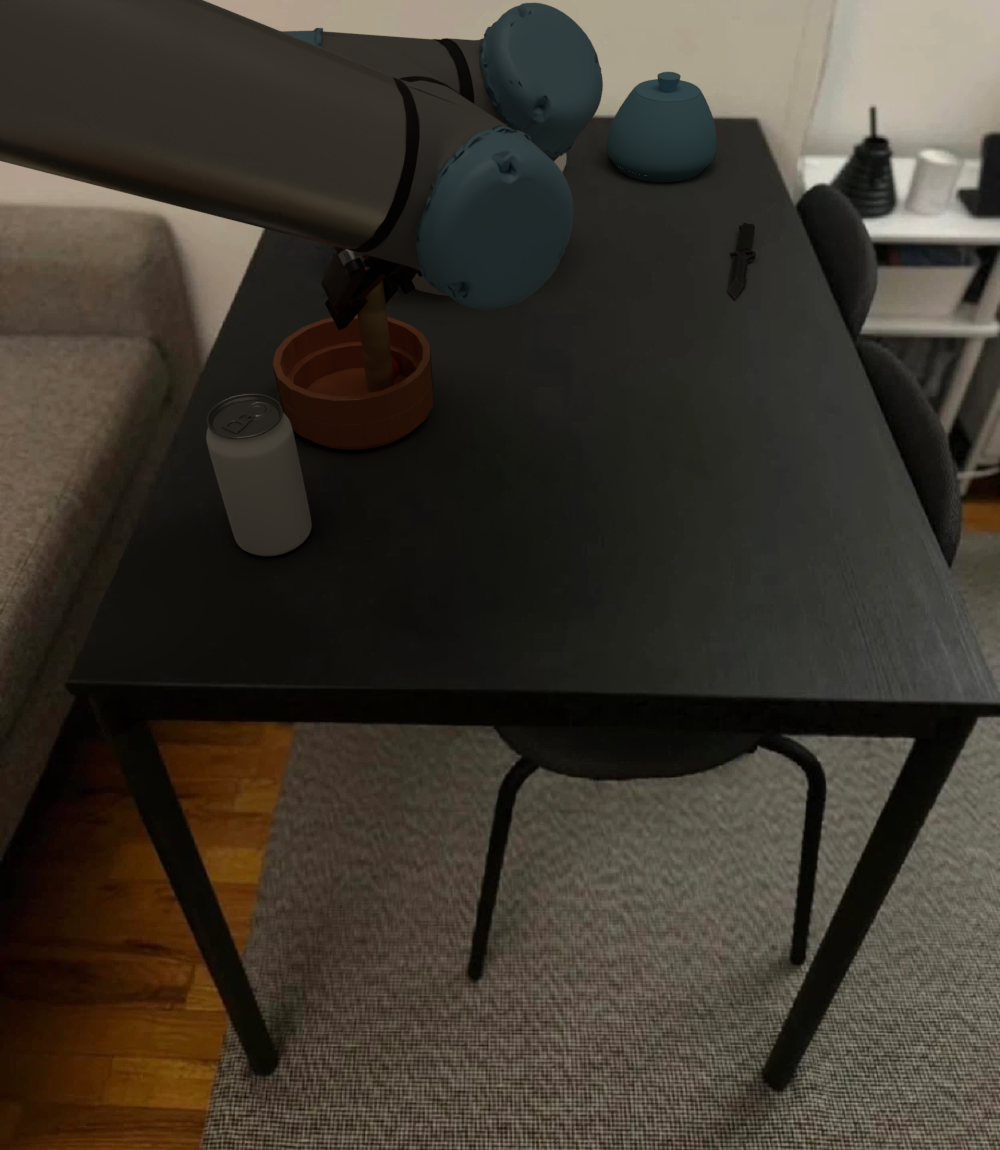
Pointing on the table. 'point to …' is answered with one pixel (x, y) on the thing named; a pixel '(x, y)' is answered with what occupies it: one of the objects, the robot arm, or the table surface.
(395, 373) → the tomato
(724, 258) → the table surface
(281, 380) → the stir bowl
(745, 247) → the knife
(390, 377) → the stick
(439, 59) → the robot arm
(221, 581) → the table surface
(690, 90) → the sugar bowl
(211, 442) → the can
